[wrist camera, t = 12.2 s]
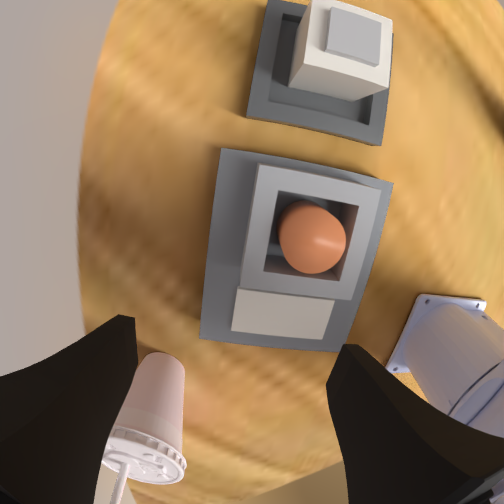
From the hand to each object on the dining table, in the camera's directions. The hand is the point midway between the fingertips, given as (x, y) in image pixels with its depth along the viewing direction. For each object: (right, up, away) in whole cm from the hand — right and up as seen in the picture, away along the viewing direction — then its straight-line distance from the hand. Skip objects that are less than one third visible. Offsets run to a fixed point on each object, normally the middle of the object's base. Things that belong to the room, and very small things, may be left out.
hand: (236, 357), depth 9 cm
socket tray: (+5, +15, +5) cm, 16 cm away
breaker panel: (+3, +3, +9) cm, 10 cm away
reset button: (+3, +5, +6) cm, 9 cm away
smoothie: (-7, -6, +13) cm, 16 cm away
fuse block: (+5, +15, +5) cm, 16 cm away
